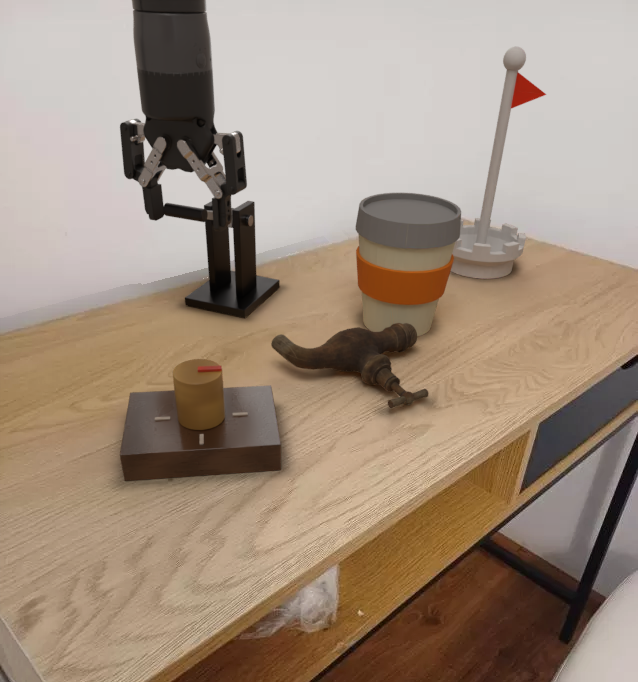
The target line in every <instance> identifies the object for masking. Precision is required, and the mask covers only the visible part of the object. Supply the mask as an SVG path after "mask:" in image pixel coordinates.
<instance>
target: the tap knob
mask: <svg viewBox="0 0 638 682" xmlns="http://www.w3.org/2000/svg"><path fill="white" fill-rule="evenodd" d="M223 374H224V373H223V368H222V365H220V363H217V362H216V361H214V360H210V359H205V358H194V359H189V360H184V361H182V362H180V363H178V364H177V365H176V366H175V367H174V368H173V370H172V382H173V390H174V391H175V399H176V408H177V416H178V421H179V423H180V424H181V425H182V426H184V427H186V428H188V429H192V430H206V429H211V428H213V427H216V426H218V425H219V424H221V423H222V421H223V420H224V418H225V404H224V389H223V388H224V376H223Z"/></svg>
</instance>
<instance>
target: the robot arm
mask: <svg viewBox="0 0 638 682" xmlns="http://www.w3.org/2000/svg"><path fill="white" fill-rule="evenodd" d="M131 4H132V9H133V10H132V18H133V20H132V22H133V23H132V27H133V28H132V31H133V33H132V34H133V35H132V36H133V47H134V55H135V62H136V73H137V81H138V89H139V90H138V91H139V97H140V106H141V107H140V108H141V112H142V114H143V115H144V116H145V121H144V122H142V121H141V120H140V119H139V118H134V119H129V120H125V121H122V122H121V123H120V124H119V131H120V132H119V133H120V144H121V156H122V165H123V174H124V177H125V178H126V179H127V180H134V181H135V182H137V183H138V184H139V186H140V187H141V189H142V190H141V191H142V196H143V197H142V198H143V204H144V206H143V207H144V211H145V213H146V215H148V219H149V220H150V221H154V222H155V221H159V220H161V219H162V218H164V216H165V215H164V212H163V207H164V205H165V204H164V196H163V188H162V183H159V181H160V179H161V177H163V176H162V175H163V174H164V172H165V171H166V170H170V171H171V170H172V171H173V170H174V171H175V170H181V171H183V172H185V173H193V172H194V173H195V174H196V176H197V178H198V179H199V180H200V181H201V182H203V183H204V184H205V185H206V187H207V188H208V190H209V191H210V193H211V194H212V196H213V197H212V198H211V201H212V210H213V225H214V230H215V231H220V232H221V231H223V230H225V229H226V228H227V227H228V225H229V224H231V221H232V211H231V208H232V196H234V195H236V194H238V193H240V192H242V191H244V190H246V188H247V186H248V178H247V169H246V157H245V155H246V154H245V144H244V135H243V133H242V132H241V131H239V130H235V131H232V132H219V131H217V129H216V126H215V112H216V108H215V107H216V105H215V88H214V73H213V72H214V70H213V53H212V40H211V39H212V38H211V33H210V32H211V31H210V27H209V26H210V25H209V21H208V12H207V11H208V10H207V0H131ZM145 140H146V141H147V142H148V144H149V145H150V147H151V150H150V152H149V155H148V157H147V158H146V159H145V157H146V156H145V146H144V142H145ZM217 147H218V148H219V149H218V150H219V153H220V154H221V155H222V157H223V164H224V165H222V163H221V161H220V159H219V158H218V156H217V155H216V154H215V152H214V151H215V149H216V148H217ZM207 166H208V167H207Z"/></svg>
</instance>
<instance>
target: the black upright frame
mask: <svg viewBox="0 0 638 682" xmlns="http://www.w3.org/2000/svg"><path fill="white" fill-rule="evenodd" d="M255 205H256V203H255V201H253V200H247V201H245V202H243V203H241V204H239V205H238V206H237V207H234V208H235V209H233V210H232V218H233V228H232V236H233V258H234V261H233V262H234V270H232V268H231V267H232V266H231V249H230V247H231V246H230V228H229V227H227V228H226V229H225V230H223V231H221V232H220V231H215V230H214V225H213V220H208V219H207V220H206V221H205V222H204V226H205V241H206V256H207V270H208V280H207V281H205V282H204V283H202V284H201V285H200V286H199V287H197V288H196V289H194V290H193V291H192V292H190V293H189V294H187V295H186V296H185V297H184V306H186V307H191V308H194V309H199V310H204V311H209V312H213V313H219V314H224V315H227V316H232V317H236V318H241V319H246V318H247V317H248V316H249V315H251V313H253V312H254V311H255V310H256V309H257V308H258V307H260V305H262V304H263V303H264V302H265V301H266V300H267V299H268V298H270V297H271V295H273V294H274V293H275V292H276V291H278V290H279V288H280V279H277V278H271V277H267V276H261V275H257V249H256V248H257V247H256V246H257V245H256V244H257V243H256V208H255ZM203 209H206V210H208V211H213V210H212V200H211V201H209V202H207V203H206V204H204V205H203Z"/></svg>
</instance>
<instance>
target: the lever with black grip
mask: <svg viewBox="0 0 638 682" xmlns="http://www.w3.org/2000/svg"><path fill="white" fill-rule="evenodd" d="M163 205H164V207H163V212H164V216H166V217H172V218H176V219H183V220H188V221H194V222H201V223H205V221H206V220H207V219H208V220H213V211H208V210H206V209H204V208H202V207H195V206H189V205H183V204H177V203H171V202H166V203H164V204H163ZM235 208H236V207H231V211H232V210H233V209H235ZM228 227H229V229H233V218H232V221H231V224H229V225H228Z"/></svg>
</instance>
